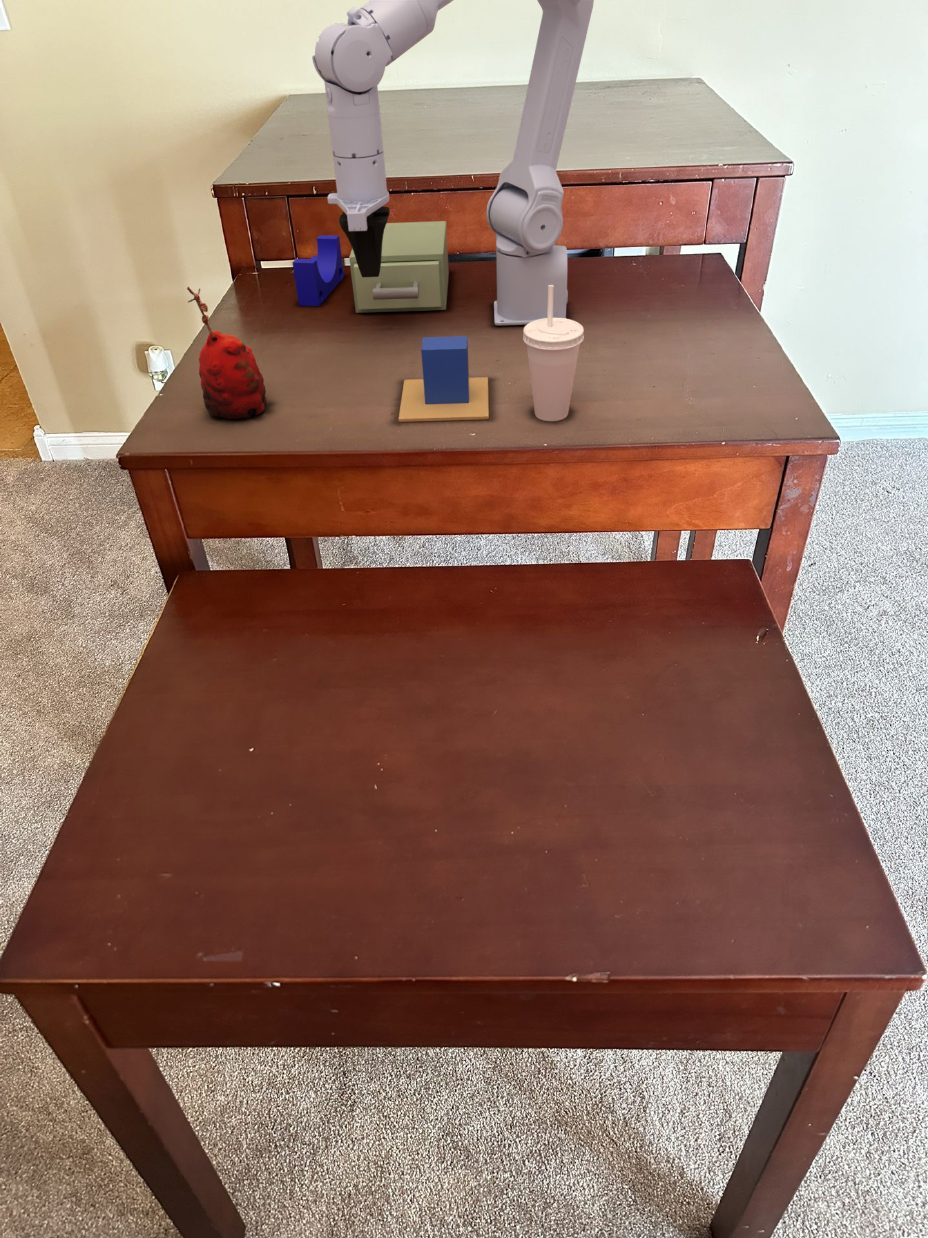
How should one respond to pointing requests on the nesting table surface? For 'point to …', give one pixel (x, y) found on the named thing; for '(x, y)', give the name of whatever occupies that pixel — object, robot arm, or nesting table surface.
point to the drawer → (400, 285)
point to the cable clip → (319, 272)
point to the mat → (419, 411)
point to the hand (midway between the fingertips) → (370, 275)
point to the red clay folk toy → (229, 374)
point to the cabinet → (412, 254)
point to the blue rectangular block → (445, 369)
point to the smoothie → (552, 362)
